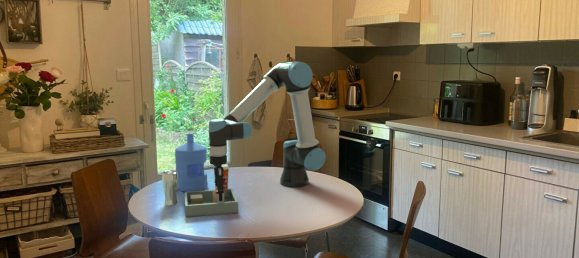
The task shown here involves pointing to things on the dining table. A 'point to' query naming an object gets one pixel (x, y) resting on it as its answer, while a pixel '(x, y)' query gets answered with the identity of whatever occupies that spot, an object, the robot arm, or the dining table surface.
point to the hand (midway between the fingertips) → (219, 203)
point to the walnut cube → (196, 199)
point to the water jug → (191, 166)
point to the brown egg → (215, 196)
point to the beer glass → (170, 187)
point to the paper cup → (225, 175)
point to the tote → (211, 204)
